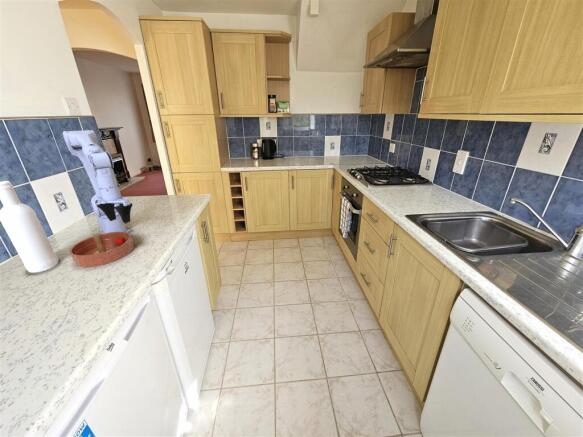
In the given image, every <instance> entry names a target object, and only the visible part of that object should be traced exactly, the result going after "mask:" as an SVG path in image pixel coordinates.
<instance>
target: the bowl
mask: <svg viewBox="0 0 583 437" xmlns="http://www.w3.org/2000/svg"><path fill="white" fill-rule="evenodd" d="M100 234H101V237H102V240H103V242H104V245H105V248H111V250H109V251H105V252H102V253H98V254H94V253H95V252H96V251H98V248H97V246H96V243H95V240H94V238H93V236H90V237H88V238H84V239H82V240H80V241H79V242H77V243H75V244H74V245H73V246H71V247H70V249H69V252H68V253H69V255H70V257H71V260H72V262H73V264H74V265H75V266H76V267H80V268H94V267H100V266H105V265H107V264H111V263H114V262H116V261H119V260H121V259H122V258H124V257H126V256H128V255H129V254H130V253H132V251H133V250H134V248H135V244H134V242H133V238H132V235H131V234H130V233H129V232H110V233H104V234H102V233H100ZM117 238H123V239H124V240H125V242H124V243H123V244H122V245H117V244H116V243H115V241H116V239H117Z"/></svg>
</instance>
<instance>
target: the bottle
mask: <svg viewBox="0 0 583 437" xmlns="http://www.w3.org/2000/svg"><path fill="white" fill-rule="evenodd" d="M0 202H1V204H2V208H1V209H0V223H1V225H2V226H3V228H4V230H5V232H6V234H7V235H8V238H9V239H10V241H11V243H12V245H13V246H14V249H15V250H16V253H17V254H18V256H19V258H20V260H21V261H22V263H23V266H24V268H25V270H27V272H28V273H30V274H31V273H39V272H43V271H46V270H49V269H51V268H53V267H55V266H57V265H58V264H59V259H58V256H57V254H56V252H55V251H54V249H53V246H52V244H51V242H50V240H49V238H48V235H47V234H46V232H45V230H44V228H43V227H44V226H43V225H42V223H41V221H40V219H39V217H38V214H37V213H36V211H35V210H34V209H33V208H32V206H30V205H28V204H25V203H23V202H21V201H20V199H19V196H18V195H17V192H16V190H15V189H14V185H13V184H12V183H11V181H9V180H3V181H0Z"/></svg>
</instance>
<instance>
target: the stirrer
mask: <svg viewBox="0 0 583 437" xmlns="http://www.w3.org/2000/svg"><path fill="white" fill-rule="evenodd" d="M101 234H102V233H95V234H92V237H93V238H94V240H95V243H96V246H97V248H98V251H96V252H95V253H94V254H98V253H102V252H105V251H109V250H111V248H105V245H104V242H103V240H102V237H101Z"/></svg>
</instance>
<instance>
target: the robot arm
mask: <svg viewBox="0 0 583 437" xmlns="http://www.w3.org/2000/svg"><path fill="white" fill-rule="evenodd" d="M62 137H63V140H64V142H65V145H66V146H67V149H68V151H69V153H70V154H71V156H74V157H77V158H78V159H79V161H81V164H82V165H83V168H84V170H85V172H86V174H87V177H88V179H89V182H90V184H91V186H92V189H93V191H94V193H95V194H94V195H93V196H92V197H91V199H90V205H91V208H92V210H93V212H94V215H95V217H97V226H98V227H99V230H100V234H104V233H110V232H126V233H129V232H130V231H132V229H130V228H127V227H126V224H127V223H130V222H131V212H132V208H133V203H131V201H130V199H129V198H126V197H124V196H123V195H122V194H121V191H120V188H119V184H118V181H117V178H116V175H115V172H114V168H115V166H114V161H113V157H112V155H111V154H110V152H109V151H107V150H106V151H104V150H103V148H102V147H101V145H99V140H98V136H97V134H96V132H95V131H94V130H93V129H88V130H87V129H86V130H69V131H67V130H64V131H63V132H62Z"/></svg>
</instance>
